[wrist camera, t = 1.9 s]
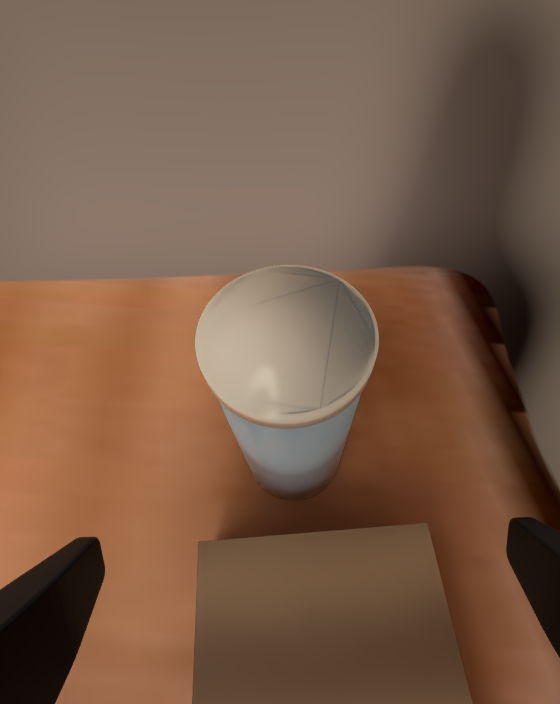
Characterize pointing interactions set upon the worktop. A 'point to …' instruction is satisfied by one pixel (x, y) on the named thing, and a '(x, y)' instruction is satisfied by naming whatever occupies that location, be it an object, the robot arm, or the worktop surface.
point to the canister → (288, 370)
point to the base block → (325, 620)
